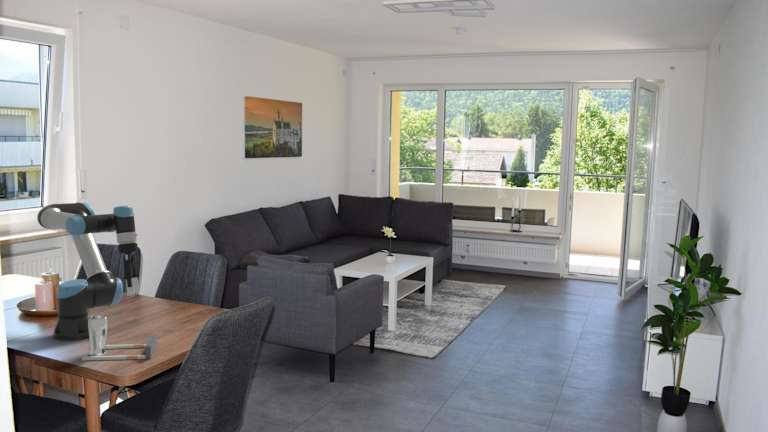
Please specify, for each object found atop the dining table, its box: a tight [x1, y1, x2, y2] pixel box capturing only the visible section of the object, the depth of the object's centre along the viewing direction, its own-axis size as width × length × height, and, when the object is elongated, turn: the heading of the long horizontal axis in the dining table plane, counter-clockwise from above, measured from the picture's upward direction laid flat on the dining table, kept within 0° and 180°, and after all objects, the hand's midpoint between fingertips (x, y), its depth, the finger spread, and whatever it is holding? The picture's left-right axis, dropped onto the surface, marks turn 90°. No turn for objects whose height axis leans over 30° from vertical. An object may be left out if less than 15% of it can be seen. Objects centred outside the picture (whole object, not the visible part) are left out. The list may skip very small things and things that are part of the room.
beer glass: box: [88, 314, 108, 356], centre depth 251 cm, size 7×7×15 cm
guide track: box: [81, 334, 158, 362], centre depth 253 cm, size 25×14×5 cm, turn 101°
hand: (133, 294), depth 263 cm, fingers open, 13 cm apart
